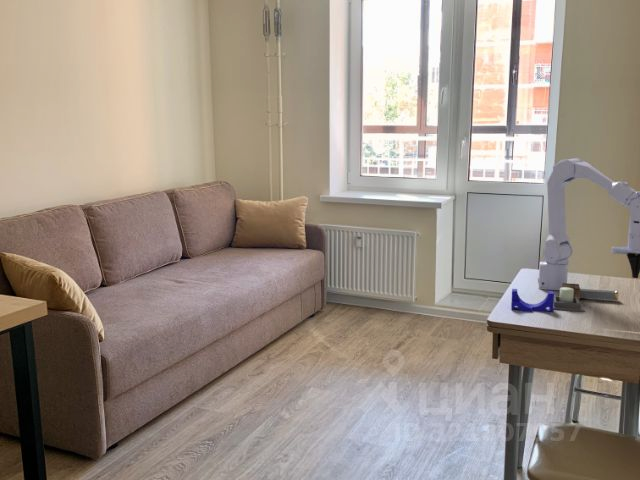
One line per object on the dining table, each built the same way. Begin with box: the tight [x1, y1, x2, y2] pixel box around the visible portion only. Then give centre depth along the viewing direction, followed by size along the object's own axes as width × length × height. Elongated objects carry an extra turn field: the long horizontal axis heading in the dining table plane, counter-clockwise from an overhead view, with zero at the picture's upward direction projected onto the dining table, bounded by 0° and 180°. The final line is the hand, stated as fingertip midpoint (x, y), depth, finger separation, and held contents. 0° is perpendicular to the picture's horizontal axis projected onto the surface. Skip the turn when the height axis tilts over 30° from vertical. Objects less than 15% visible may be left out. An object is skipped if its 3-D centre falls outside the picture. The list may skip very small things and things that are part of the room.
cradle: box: [548, 295, 585, 313], centre depth 208 cm, size 10×10×2 cm
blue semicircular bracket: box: [510, 288, 555, 313], centre depth 203 cm, size 12×4×6 cm, turn 75°
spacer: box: [559, 287, 574, 303], centre depth 207 cm, size 4×4×5 cm
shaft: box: [580, 288, 619, 301], centre depth 214 cm, size 14×3×3 cm, turn 74°
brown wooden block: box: [562, 282, 581, 301], centre depth 216 cm, size 5×6×4 cm
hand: (634, 277), depth 210 cm, fingers closed
